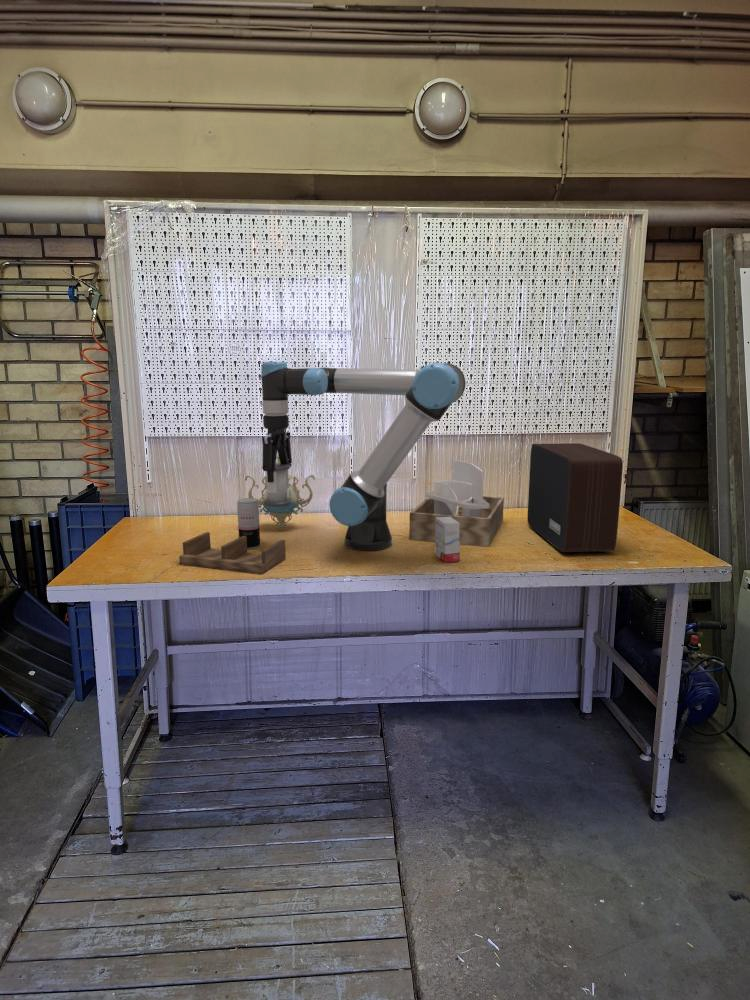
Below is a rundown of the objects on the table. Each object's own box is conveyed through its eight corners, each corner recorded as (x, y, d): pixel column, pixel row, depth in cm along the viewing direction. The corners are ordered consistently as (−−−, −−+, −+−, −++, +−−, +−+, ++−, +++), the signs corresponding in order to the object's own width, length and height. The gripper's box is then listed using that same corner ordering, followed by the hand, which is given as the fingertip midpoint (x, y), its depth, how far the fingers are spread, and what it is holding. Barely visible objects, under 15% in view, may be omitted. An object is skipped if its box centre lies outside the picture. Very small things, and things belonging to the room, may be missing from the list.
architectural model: (411, 527, 222) (412, 462, 216) (456, 519, 233) (458, 457, 228) (463, 546, 199) (465, 474, 193) (511, 536, 210) (514, 467, 205)
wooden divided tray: (285, 559, 184) (285, 539, 183) (262, 574, 172) (261, 553, 170) (207, 550, 193) (206, 532, 192) (179, 564, 180) (178, 544, 179)
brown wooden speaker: (621, 556, 187) (629, 457, 181) (563, 557, 186) (570, 458, 179) (575, 525, 222) (581, 441, 216) (526, 526, 221) (530, 442, 215)
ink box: (460, 562, 182) (461, 522, 179) (443, 563, 181) (444, 524, 178) (449, 553, 190) (450, 515, 187) (434, 554, 189) (434, 516, 186)
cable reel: (296, 501, 194) (294, 464, 191) (283, 507, 186) (282, 468, 183) (271, 499, 196) (270, 462, 194) (258, 505, 189) (257, 467, 186)
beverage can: (243, 542, 201) (240, 497, 198) (262, 543, 201) (260, 498, 197) (236, 548, 195) (234, 502, 192) (256, 549, 194) (254, 502, 191)
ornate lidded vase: (244, 533, 212) (240, 446, 206) (250, 524, 223) (246, 441, 217) (314, 533, 213) (312, 445, 206) (317, 524, 224) (315, 441, 217)
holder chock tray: (502, 521, 227) (503, 497, 225) (488, 546, 196) (489, 519, 195) (433, 516, 235) (433, 492, 233) (409, 539, 205) (409, 512, 203)
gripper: (280, 411, 195) (282, 483, 200) (247, 417, 177) (251, 495, 182) (301, 412, 193) (303, 484, 198) (270, 417, 175) (274, 497, 180)
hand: (278, 489), depth 190 cm, fingers closed on cable reel, 7 cm apart
